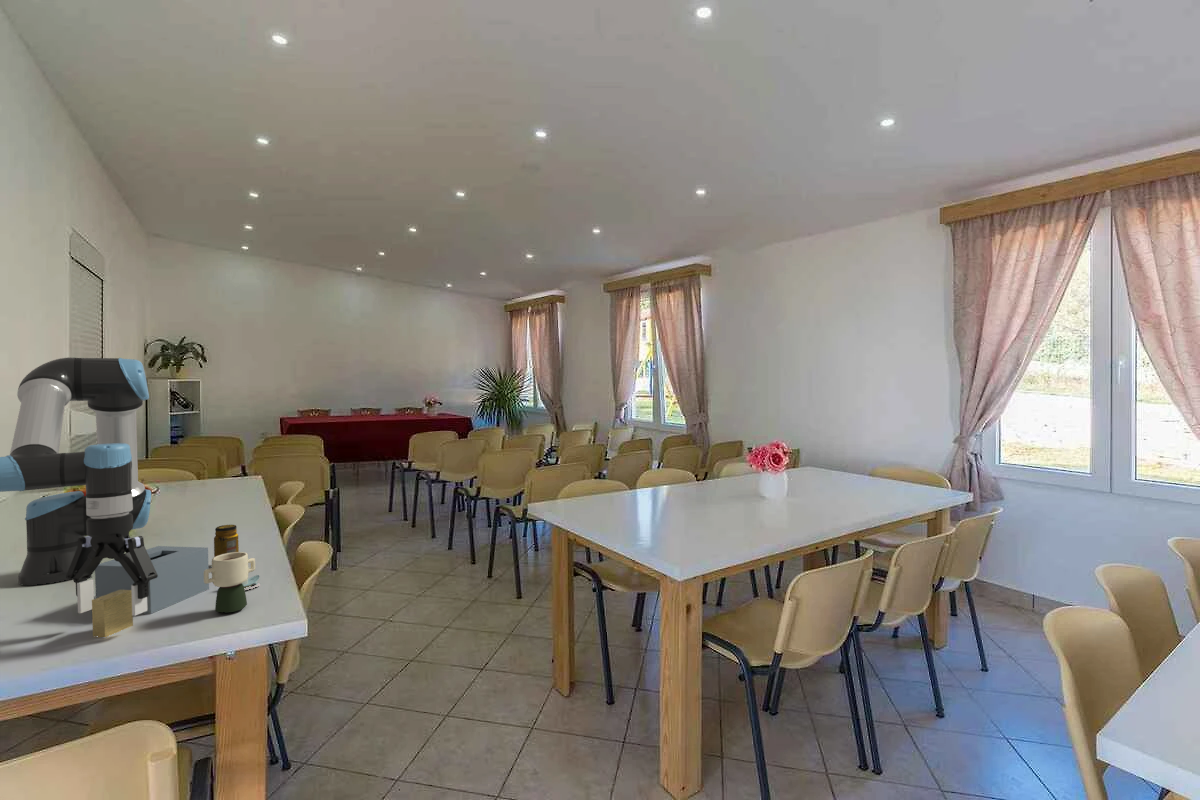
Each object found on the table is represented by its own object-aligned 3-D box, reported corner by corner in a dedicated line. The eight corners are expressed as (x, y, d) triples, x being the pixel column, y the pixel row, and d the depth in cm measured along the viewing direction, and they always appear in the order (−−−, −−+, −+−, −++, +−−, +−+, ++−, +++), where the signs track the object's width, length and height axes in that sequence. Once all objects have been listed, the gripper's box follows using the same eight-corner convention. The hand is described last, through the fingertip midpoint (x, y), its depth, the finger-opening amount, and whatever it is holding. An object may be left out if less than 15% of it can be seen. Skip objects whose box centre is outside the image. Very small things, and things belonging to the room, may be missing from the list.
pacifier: (264, 587, 145) (255, 582, 148) (264, 564, 144) (255, 559, 148) (233, 596, 139) (224, 590, 143) (233, 572, 139) (224, 566, 142)
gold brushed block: (92, 637, 116) (91, 599, 116) (121, 624, 122) (120, 589, 122) (105, 637, 115) (103, 600, 115) (133, 625, 121) (132, 590, 121)
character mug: (249, 599, 136) (247, 548, 135) (263, 605, 132) (261, 552, 131) (198, 615, 126) (196, 559, 126) (211, 622, 122) (210, 565, 122)
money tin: (96, 610, 130) (94, 565, 129) (159, 586, 145) (158, 546, 145) (150, 613, 127) (149, 567, 127) (209, 588, 143) (208, 547, 143)
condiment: (239, 561, 167) (238, 522, 167) (242, 567, 161) (241, 527, 160) (210, 566, 163) (209, 526, 162) (212, 573, 156) (211, 531, 156)
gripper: (41, 518, 116) (44, 616, 116) (143, 519, 113) (145, 621, 113) (79, 510, 123) (82, 603, 124) (176, 511, 120) (178, 607, 120)
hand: (112, 612), depth 118 cm, fingers open, 13 cm apart
